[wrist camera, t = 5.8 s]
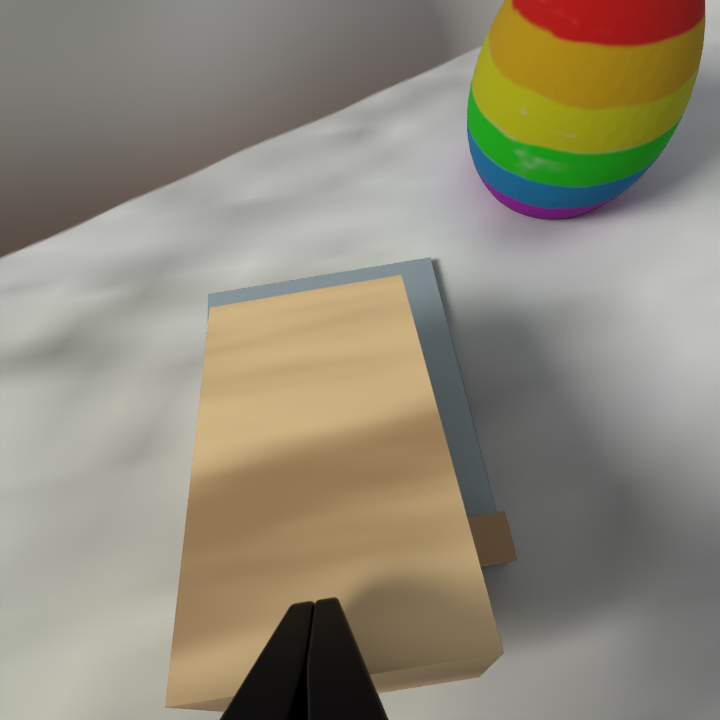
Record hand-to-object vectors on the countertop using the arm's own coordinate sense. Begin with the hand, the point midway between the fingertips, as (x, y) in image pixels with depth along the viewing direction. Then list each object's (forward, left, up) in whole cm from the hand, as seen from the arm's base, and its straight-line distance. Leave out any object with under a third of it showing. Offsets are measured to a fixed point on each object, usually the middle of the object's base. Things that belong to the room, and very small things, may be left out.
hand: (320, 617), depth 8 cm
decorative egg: (+13, -15, -8) cm, 22 cm away
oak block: (-1, 0, -3) cm, 3 cm away
